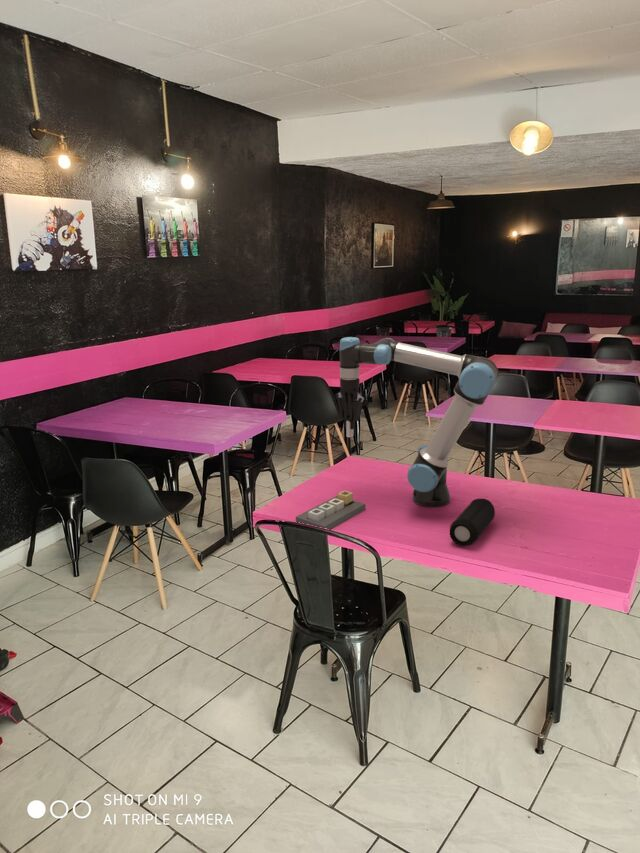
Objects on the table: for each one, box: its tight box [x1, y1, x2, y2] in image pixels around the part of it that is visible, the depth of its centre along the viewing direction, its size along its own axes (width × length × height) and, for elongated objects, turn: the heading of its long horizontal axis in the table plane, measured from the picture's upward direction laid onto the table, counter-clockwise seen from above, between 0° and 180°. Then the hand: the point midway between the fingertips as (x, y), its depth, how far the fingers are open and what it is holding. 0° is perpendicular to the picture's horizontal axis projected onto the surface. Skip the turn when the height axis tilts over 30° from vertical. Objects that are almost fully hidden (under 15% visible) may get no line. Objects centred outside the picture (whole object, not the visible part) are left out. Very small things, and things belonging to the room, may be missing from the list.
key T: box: [328, 498, 344, 511], centre depth 244 cm, size 4×4×4 cm
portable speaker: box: [449, 498, 496, 547], centre depth 225 cm, size 26×10×10 cm, turn 148°
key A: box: [318, 503, 335, 517], centre depth 240 cm, size 4×4×4 cm
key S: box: [336, 490, 354, 504], centre depth 248 cm, size 4×4×4 cm
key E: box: [308, 508, 325, 522], centre depth 236 cm, size 4×4×4 cm
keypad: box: [295, 495, 366, 530], centre depth 243 cm, size 14×26×2 cm, turn 141°
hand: (349, 436), depth 247 cm, fingers closed
